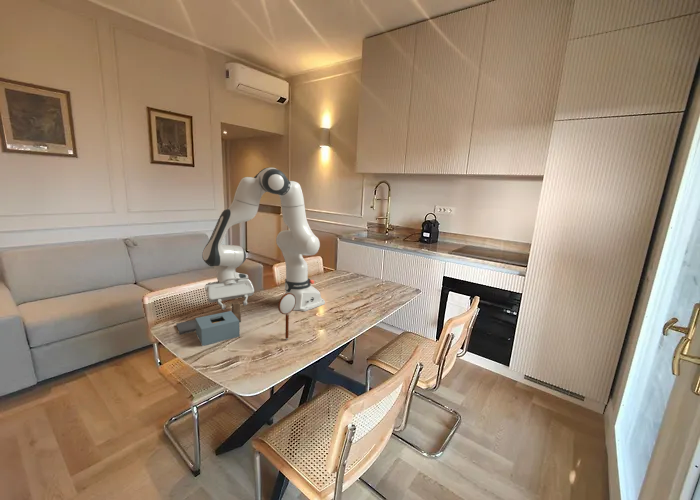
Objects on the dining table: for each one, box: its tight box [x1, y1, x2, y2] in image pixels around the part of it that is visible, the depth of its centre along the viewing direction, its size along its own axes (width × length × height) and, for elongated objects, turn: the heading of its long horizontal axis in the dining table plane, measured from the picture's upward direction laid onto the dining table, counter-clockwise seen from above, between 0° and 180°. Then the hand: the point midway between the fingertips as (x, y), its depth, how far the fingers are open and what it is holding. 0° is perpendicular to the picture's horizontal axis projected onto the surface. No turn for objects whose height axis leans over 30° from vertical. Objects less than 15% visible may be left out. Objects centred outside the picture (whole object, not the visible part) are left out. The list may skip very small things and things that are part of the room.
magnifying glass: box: [277, 293, 296, 341], centre depth 118 cm, size 9×2×20 cm, turn 142°
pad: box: [175, 319, 196, 335], centre depth 126 cm, size 9×9×1 cm
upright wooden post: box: [230, 300, 242, 323], centre depth 132 cm, size 3×3×9 cm
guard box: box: [194, 310, 241, 347], centre depth 120 cm, size 14×11×7 cm
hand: (234, 306), depth 133 cm, fingers open, 8 cm apart
